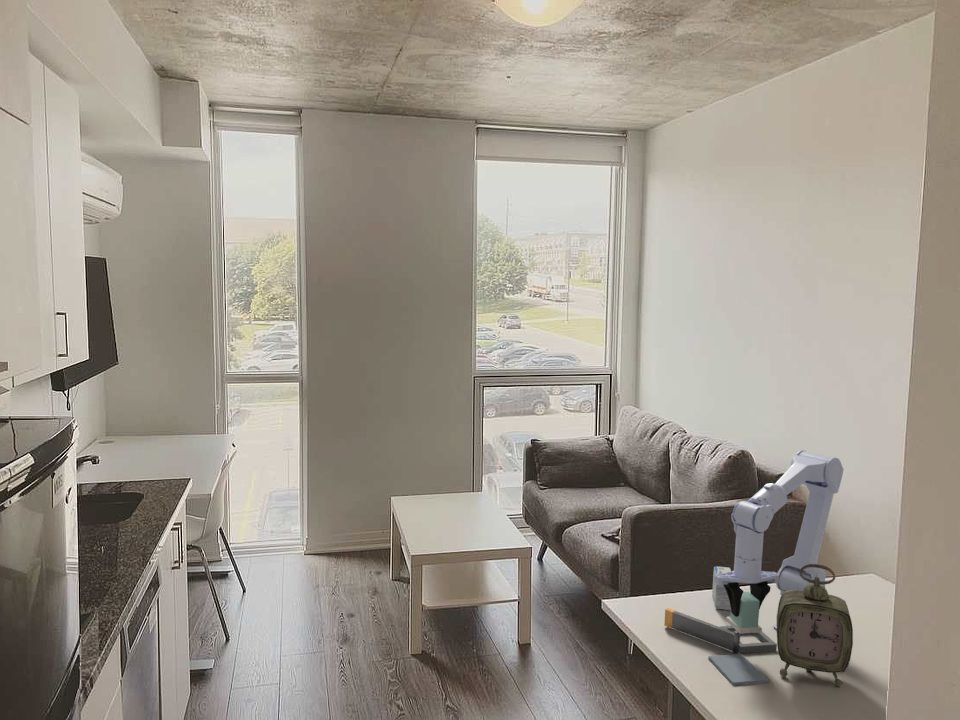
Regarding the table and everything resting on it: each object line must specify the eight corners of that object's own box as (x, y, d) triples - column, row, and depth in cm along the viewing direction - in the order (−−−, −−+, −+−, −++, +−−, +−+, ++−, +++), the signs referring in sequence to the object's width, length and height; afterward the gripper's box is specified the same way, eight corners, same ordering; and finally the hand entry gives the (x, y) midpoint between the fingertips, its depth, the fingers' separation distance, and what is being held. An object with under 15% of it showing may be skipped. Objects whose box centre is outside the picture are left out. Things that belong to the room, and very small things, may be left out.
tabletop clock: (773, 678, 161) (781, 566, 158) (773, 659, 169) (780, 551, 166) (848, 693, 156) (858, 577, 153) (844, 672, 164) (853, 561, 161)
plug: (747, 619, 173) (749, 590, 172) (761, 632, 167) (763, 602, 166) (726, 620, 172) (728, 591, 171) (739, 633, 166) (741, 603, 165)
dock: (753, 630, 183) (754, 624, 183) (776, 650, 173) (776, 644, 173) (719, 632, 181) (719, 626, 181) (740, 653, 172) (740, 646, 171)
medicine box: (732, 611, 193) (734, 578, 192) (714, 609, 194) (716, 577, 193) (729, 598, 201) (730, 567, 200) (711, 596, 202) (713, 565, 201)
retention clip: (667, 624, 184) (668, 605, 184) (740, 652, 171) (741, 632, 171) (664, 626, 183) (665, 607, 183) (737, 654, 170) (738, 634, 170)
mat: (741, 656, 170) (741, 653, 170) (767, 682, 159) (767, 679, 159) (708, 658, 169) (708, 656, 169) (732, 685, 158) (732, 682, 158)
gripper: (768, 548, 173) (764, 604, 174) (709, 550, 170) (706, 607, 172) (786, 559, 166) (781, 618, 167) (724, 562, 163) (720, 621, 165)
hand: (744, 614), depth 169 cm, fingers closed on plug, 4 cm apart
